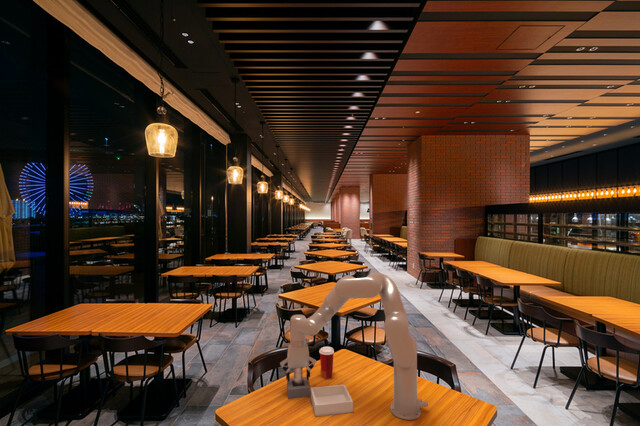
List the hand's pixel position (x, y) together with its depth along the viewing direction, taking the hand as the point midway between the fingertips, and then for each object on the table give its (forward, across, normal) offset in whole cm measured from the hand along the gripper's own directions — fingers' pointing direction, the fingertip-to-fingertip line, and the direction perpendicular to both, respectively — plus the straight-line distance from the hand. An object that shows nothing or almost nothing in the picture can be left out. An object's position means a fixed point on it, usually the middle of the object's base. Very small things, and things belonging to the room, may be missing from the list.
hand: (298, 379), depth 147 cm
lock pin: (+6, 0, 0) cm, 6 cm away
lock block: (+6, 0, 0) cm, 6 cm away
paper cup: (+6, -16, -12) cm, 21 cm away
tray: (+6, -13, +13) cm, 19 cm away
